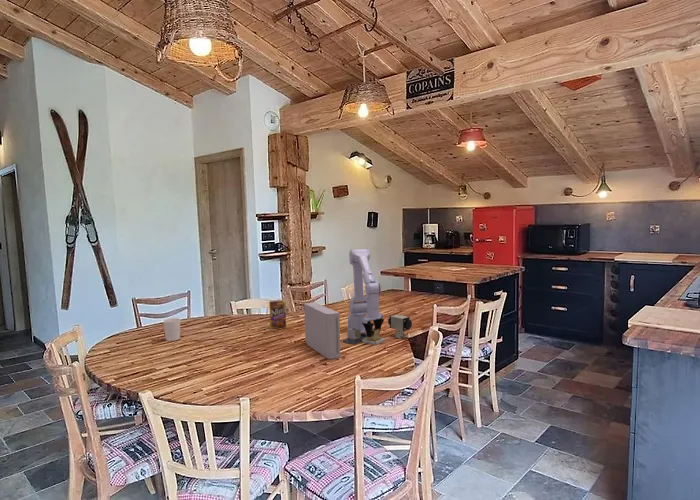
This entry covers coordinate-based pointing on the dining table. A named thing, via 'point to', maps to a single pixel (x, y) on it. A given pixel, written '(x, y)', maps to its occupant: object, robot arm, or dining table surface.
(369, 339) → the tan rectangular block
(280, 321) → the candy box
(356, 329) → the grey rectangular block
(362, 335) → the rail
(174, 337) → the white cup
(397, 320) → the pneumatic valve
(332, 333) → the game console
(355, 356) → the dining table surface
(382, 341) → the tray
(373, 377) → the dining table surface
